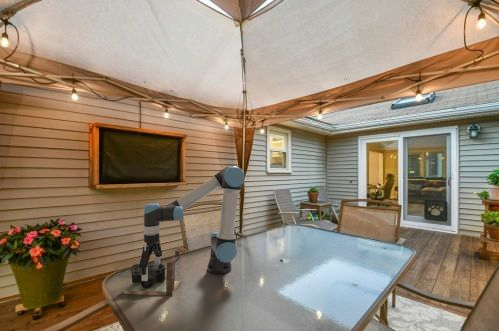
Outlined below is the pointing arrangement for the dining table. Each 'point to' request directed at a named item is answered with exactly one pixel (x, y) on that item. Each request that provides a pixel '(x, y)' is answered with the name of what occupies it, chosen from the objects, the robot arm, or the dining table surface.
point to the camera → (154, 275)
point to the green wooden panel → (159, 288)
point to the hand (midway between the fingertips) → (151, 274)
